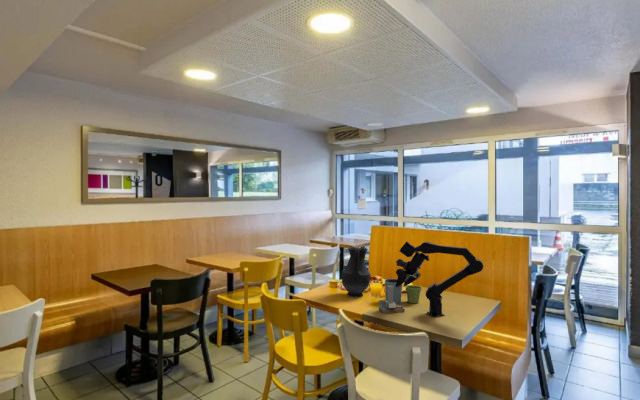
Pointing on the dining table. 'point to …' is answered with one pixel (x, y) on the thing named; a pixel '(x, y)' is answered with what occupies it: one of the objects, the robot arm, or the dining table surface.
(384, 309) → the rail bed
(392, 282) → the drinking glass
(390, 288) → the carriage
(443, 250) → the robot arm
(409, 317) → the dining table surface
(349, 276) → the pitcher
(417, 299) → the plant pot
